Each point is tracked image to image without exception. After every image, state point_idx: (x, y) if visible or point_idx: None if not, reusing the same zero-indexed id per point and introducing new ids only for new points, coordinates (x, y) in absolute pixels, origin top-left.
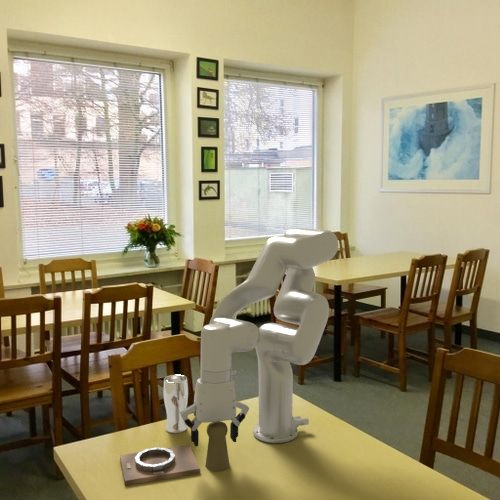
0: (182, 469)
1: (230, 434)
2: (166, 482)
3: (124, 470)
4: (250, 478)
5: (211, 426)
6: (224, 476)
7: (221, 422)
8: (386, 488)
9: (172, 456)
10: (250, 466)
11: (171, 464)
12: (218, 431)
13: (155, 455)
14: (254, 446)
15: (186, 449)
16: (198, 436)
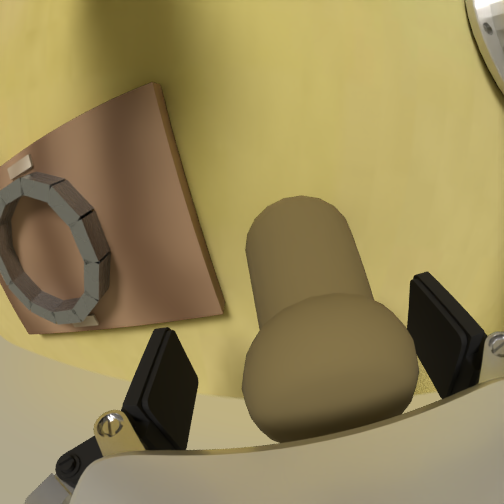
0: (153, 310)
1: (419, 294)
2: (121, 335)
3: (3, 285)
4: None
5: (282, 442)
6: None
7: (386, 406)
8: None
9: (90, 264)
10: (422, 270)
11: (104, 290)
12: None
13: None
14: (468, 109)
15: (140, 133)
16: (190, 424)
